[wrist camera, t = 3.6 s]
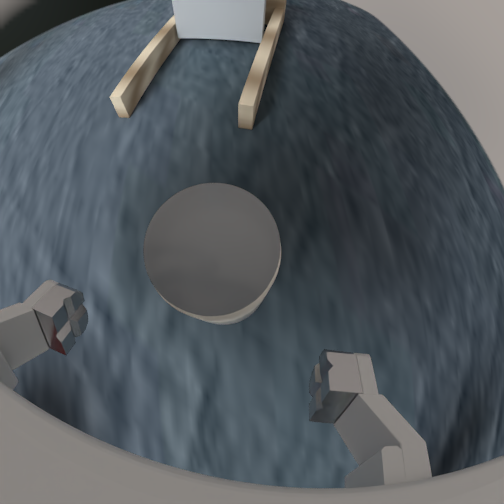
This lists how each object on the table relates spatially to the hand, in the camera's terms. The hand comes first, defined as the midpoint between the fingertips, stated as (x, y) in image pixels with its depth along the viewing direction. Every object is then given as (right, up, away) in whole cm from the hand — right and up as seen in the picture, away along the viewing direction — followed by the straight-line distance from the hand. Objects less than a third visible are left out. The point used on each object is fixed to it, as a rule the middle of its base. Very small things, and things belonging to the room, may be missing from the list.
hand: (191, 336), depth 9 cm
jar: (0, +1, +8) cm, 8 cm away
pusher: (-1, +23, +14) cm, 27 cm away
